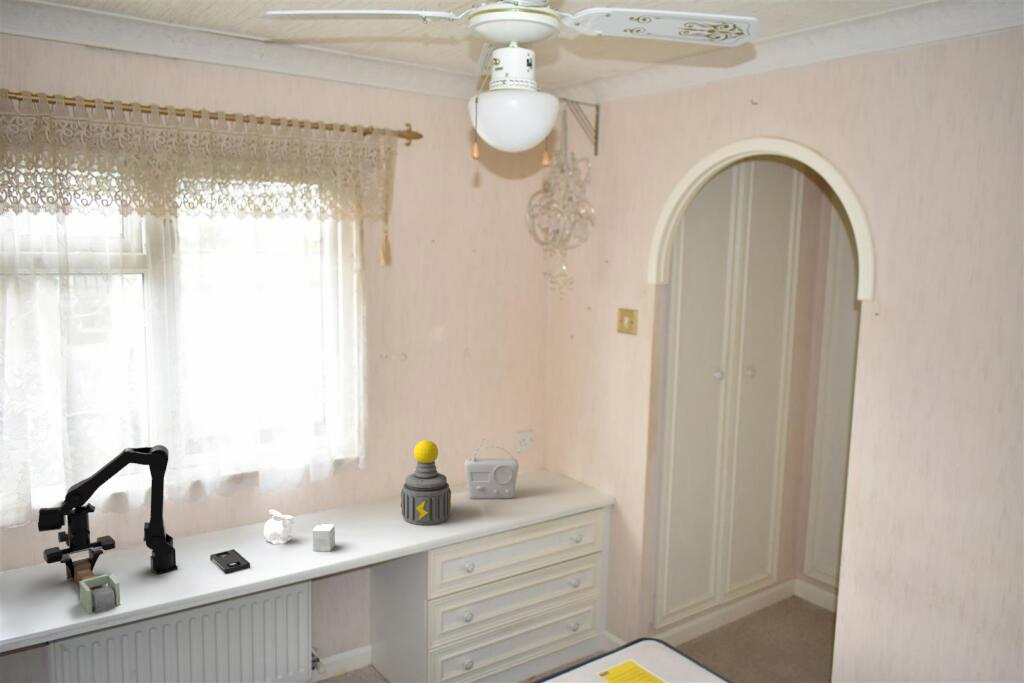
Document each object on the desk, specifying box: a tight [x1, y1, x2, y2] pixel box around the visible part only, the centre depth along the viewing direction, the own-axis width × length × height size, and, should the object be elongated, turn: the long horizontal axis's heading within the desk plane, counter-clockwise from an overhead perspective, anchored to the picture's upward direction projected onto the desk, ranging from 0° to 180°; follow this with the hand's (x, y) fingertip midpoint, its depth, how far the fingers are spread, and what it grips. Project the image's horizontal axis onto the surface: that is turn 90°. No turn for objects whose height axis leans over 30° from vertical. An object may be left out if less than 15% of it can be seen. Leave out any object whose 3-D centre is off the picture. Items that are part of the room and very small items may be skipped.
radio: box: [464, 438, 520, 500], centre depth 323 cm, size 22×8×25 cm, turn 95°
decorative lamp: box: [400, 439, 452, 526], centre depth 298 cm, size 19×19×30 cm
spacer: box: [91, 585, 116, 614], centre depth 225 cm, size 5×5×5 cm
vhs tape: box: [209, 548, 251, 575], centre depth 256 cm, size 14×8×2 cm, turn 40°
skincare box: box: [312, 523, 336, 552], centre depth 269 cm, size 6×6×7 cm
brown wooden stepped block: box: [65, 557, 101, 590], centre depth 238 cm, size 18×7×5 cm, turn 42°
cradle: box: [78, 573, 121, 614], centre depth 228 cm, size 8×11×7 cm
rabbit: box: [263, 509, 296, 545], centre depth 274 cm, size 12×9×12 cm
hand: (81, 575), depth 242 cm, fingers closed on brown wooden stepped block, 4 cm apart
